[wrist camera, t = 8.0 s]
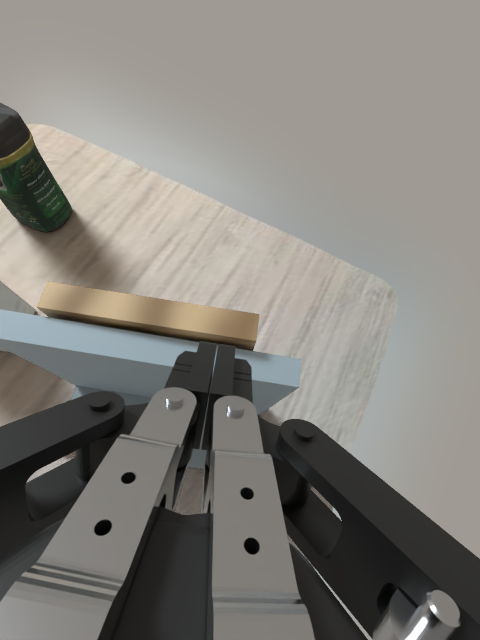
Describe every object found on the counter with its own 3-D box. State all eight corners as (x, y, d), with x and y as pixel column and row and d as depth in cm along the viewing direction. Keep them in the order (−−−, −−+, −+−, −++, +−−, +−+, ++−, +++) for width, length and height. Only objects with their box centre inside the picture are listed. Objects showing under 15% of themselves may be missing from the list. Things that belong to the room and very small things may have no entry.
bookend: (59, 447, 41) (-80, 442, 21) (85, 371, 46) (-10, 307, 25) (251, 476, 42) (292, 498, 22) (259, 399, 46) (300, 359, 26)
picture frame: (100, 358, 39) (36, 306, 25) (106, 340, 40) (47, 281, 26) (242, 380, 39) (256, 340, 25) (245, 362, 40) (259, 314, 26)
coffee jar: (81, 209, 57) (28, 106, 40) (51, 240, 54) (-21, 141, 37) (38, 187, 58) (-33, 77, 41) (6, 216, 54) (-85, 109, 37)
